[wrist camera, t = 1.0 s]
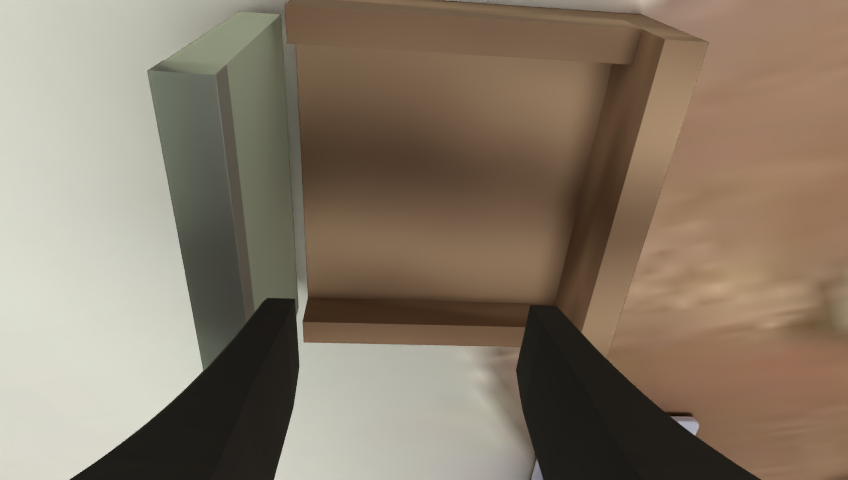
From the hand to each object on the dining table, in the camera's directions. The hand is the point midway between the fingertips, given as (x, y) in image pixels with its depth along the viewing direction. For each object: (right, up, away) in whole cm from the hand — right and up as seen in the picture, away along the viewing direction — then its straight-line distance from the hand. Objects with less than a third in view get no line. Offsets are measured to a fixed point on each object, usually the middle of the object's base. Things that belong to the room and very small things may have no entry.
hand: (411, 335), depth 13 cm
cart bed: (+2, +5, +8) cm, 10 cm away
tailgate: (-4, +4, +6) cm, 9 cm away
